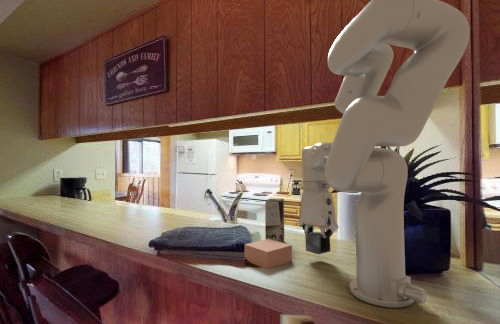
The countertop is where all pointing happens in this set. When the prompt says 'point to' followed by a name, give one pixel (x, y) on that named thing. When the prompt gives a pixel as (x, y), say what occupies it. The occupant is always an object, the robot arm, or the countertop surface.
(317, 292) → the countertop surface
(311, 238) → the slate cube
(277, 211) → the coffee box
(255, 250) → the terracotta block
